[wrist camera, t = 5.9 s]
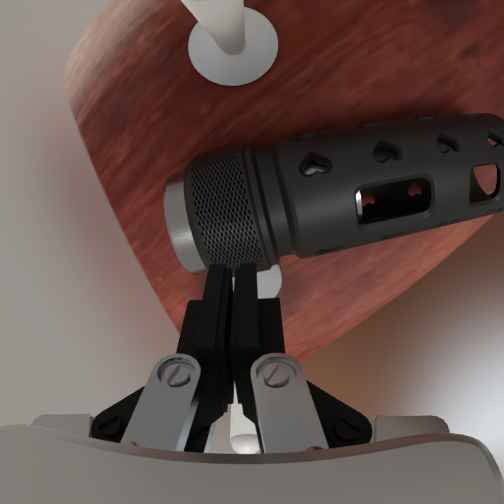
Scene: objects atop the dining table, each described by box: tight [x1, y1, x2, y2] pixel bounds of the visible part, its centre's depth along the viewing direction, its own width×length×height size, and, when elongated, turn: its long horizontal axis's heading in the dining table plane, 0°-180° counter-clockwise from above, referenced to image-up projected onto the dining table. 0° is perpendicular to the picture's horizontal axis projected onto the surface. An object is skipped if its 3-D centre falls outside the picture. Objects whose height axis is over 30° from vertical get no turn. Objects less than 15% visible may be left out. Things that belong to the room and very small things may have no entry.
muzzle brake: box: [164, 113, 504, 278], centre depth 23 cm, size 10×28×10 cm, turn 104°
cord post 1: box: [181, 0, 278, 86], centre depth 13 cm, size 7×7×20 cm
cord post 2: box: [230, 262, 282, 454], centre depth 24 cm, size 7×7×20 cm
